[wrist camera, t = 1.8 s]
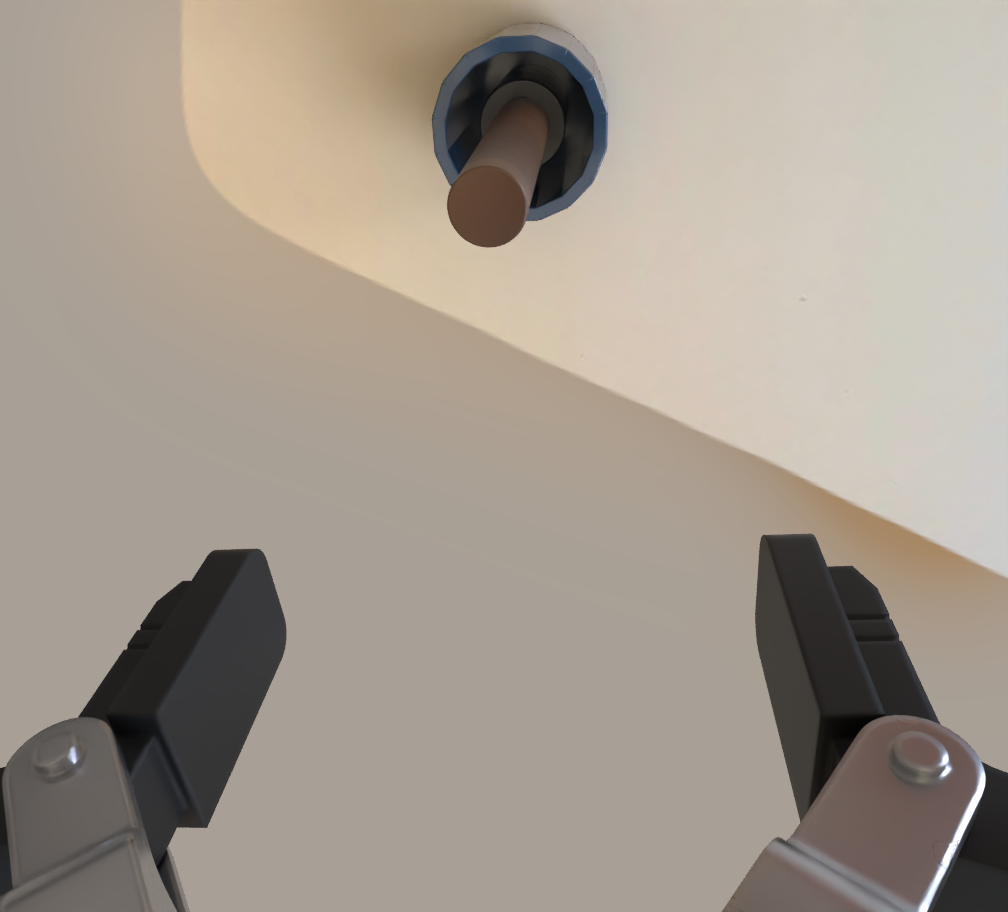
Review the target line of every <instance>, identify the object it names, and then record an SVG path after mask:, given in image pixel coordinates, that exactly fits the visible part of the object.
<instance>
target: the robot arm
mask: <svg viewBox="0 0 1008 912" xmlns="http://www.w3.org/2000/svg"><path fill="white" fill-rule="evenodd" d="M755 623H756V637H757V645H758V651H759V655H760V659H761V663H762V667H763V671H764V675H765V680H766V683H767V688H768V691H769V696H770V700H771V704H772V708H773V712H774V716H775V720H776V724H777V728H778V732H779V736H780V740H781V744H782V749H783V752H784V757H785V761H786V765H787V769H788V773H789V776H790V781H791V785H792V789H793V793H794V797H795V801H796V806H797V810H798V814H799V818H800V824H799V826H798V827H797V829H796V830H795V832H794V833H793V835H792V836H791V837H790V838H789V839H788V840H787V841H785V840H783V839H782V838H779V837H777V838H775V839H774V840H772V841H771V842H770V843H769V844H768V845H767V846H766V847H765V849H764V850H763V851H762V853H761V854H760V855H759V857H758V859H757V860H756V861H755V863H754V864H753V866H752V867H751V869H750V870H749V872H748V873H747V875H746V876H745V878H744V879H743V881H742V882H741V884H740V885H739V887H738V888H737V890H736V891H735V893H734V894H733V896H732V897H731V899H730V900H729V902H728V903H727V905H726V906H725V908H724V909H723V911H722V912H1008V773H1006V772H1003V771H1001V770H998V769H996V768H993V767H991V766H989V765H987V764H985V763H983V762H981V761H980V758H979V757H978V755H977V754H976V752H975V751H974V750H973V749H972V748H971V746H970V745H969V744H968V743H967V742H966V741H965V740H963V739H962V738H961V737H960V736H959V735H957V734H956V733H954V732H953V731H951V730H950V729H948V728H946V727H944V726H942V725H941V724H940V723H939V721H938V719H937V717H936V715H935V712H934V710H933V708H932V706H931V704H930V702H929V700H928V697H927V695H926V693H925V691H924V689H923V686H922V684H921V682H920V680H919V678H918V676H917V673H916V671H915V669H914V667H913V665H912V662H911V660H910V658H909V656H908V654H907V652H906V650H905V647H904V645H903V643H902V641H899V634H898V632H897V630H896V628H895V626H894V624H893V621H892V620H891V619H890V618H889V613H888V610H887V608H886V607H885V604H884V602H883V600H882V597H881V595H880V593H879V591H878V589H877V588H876V587H875V586H874V585H873V584H872V583H871V582H870V581H868V580H867V579H866V578H865V577H864V576H863V575H862V574H860V573H859V572H858V571H857V570H856V569H855V568H854V567H853V566H835V567H827V565H826V563H825V560H824V557H823V555H822V553H821V550H820V547H819V545H818V542H817V540H816V538H815V536H814V535H813V534H788V535H786V534H785V535H763V536H762V537H761V542H760V550H759V565H758V581H757V597H756V612H755ZM285 645H286V623H285V618H284V615H283V611H282V608H281V605H280V602H279V598H278V595H277V592H276V589H275V585H274V582H273V579H272V576H271V573H270V569H269V566H268V563H267V560H266V557H265V555H264V553H263V552H262V551H261V550H260V549H233V550H214V551H212V552H211V553H210V554H209V555H208V556H207V558H206V559H205V561H204V563H203V564H202V565H201V567H200V568H199V570H198V572H197V573H196V575H195V576H194V578H193V579H192V581H182V582H181V583H180V584H178V585H177V586H176V587H174V588H173V589H172V590H171V591H169V592H168V593H167V594H166V595H165V596H163V597H162V598H161V599H160V600H158V601H157V602H156V604H155V605H154V606H153V608H152V609H151V611H150V612H149V614H148V615H147V617H146V618H145V620H144V621H143V623H142V624H141V629H140V630H137V631H136V633H135V634H134V636H133V637H132V639H131V640H130V642H129V643H128V648H127V650H123V652H122V654H121V655H120V656H119V658H118V660H117V661H116V662H115V664H114V665H113V667H112V668H111V670H110V671H109V673H108V674H107V675H106V677H105V678H104V680H103V681H102V683H101V684H100V686H99V687H98V689H97V690H96V692H95V693H94V695H93V697H92V698H91V699H90V701H89V702H88V704H87V705H86V707H85V708H84V709H83V711H82V712H81V714H80V715H79V717H78V718H73V719H69V720H65V721H62V722H59V723H57V724H54V725H52V726H50V727H48V728H46V729H44V730H42V731H41V732H39V733H37V734H36V735H34V736H33V737H32V738H30V739H29V740H28V741H26V742H25V743H24V744H23V745H22V746H21V747H20V748H19V749H18V750H17V751H16V752H15V753H14V755H13V756H12V757H11V759H10V760H9V762H8V763H7V766H6V767H3V768H0V912H190V911H189V908H188V904H187V901H186V898H185V894H184V891H183V888H182V885H181V881H180V878H179V875H178V871H177V868H176V865H175V861H174V859H173V856H172V853H171V851H170V850H169V847H168V845H169V843H170V841H171V839H172V837H173V834H174V832H175V830H176V828H177V827H189V828H207V826H208V824H209V822H210V819H211V817H212V815H213V813H214V811H215V808H216V806H217V804H218V802H219V799H220V797H221V795H222V793H223V790H224V788H225V786H226V783H227V781H228V779H229V777H230V775H231V772H232V770H233V768H234V766H235V763H236V761H237V759H238V757H239V754H240V752H241V749H242V747H243V745H244V743H245V741H246V739H247V736H248V734H249V731H250V729H251V727H252V725H253V722H254V720H255V718H256V716H257V714H258V711H259V709H260V707H261V705H262V702H263V700H264V698H265V696H266V693H267V691H268V689H269V686H270V684H271V682H272V680H273V678H274V675H275V673H276V671H277V669H278V666H279V664H280V662H281V660H282V657H283V654H284V650H285Z"/></svg>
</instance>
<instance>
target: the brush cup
mask: <svg viewBox="0 0 1008 912" xmlns="http://www.w3.org/2000/svg"><path fill="white" fill-rule="evenodd" d="M526 65H536V66H541V67H544V68H546V69H548V70H550V71H551V72H553V73H554V74H555V75H556V76H557V77H558V78H559V79H560V80H561V82H562V83H563V85H564V87H565V89H566V92H567V95H568V100H569V112H568V118H567V124H566V130H565V136H564V139H563V143H562V145H561V147H560V149H559V150H558V152H557V153H556V155H555V156H554V157H553V158H552V159H551V160H550V161H549V162H547V163H546V164H545V165H543V166H541V167H540V168H539V172H538V176H537V180H536V184H535V188H534V192H533V195H532V199H531V203H530V207H529V211H528V215H527V218H526V221H538V220H542V219H544V218H546V217H548V216H551V215H553V214H555V213H557V212H560V211H562V210H564V209H566V208H568V207H569V206H571V205H572V204H573V203H574V202H575V201H576V200H577V199H578V198H579V197H580V196H581V195H582V194H583V193H584V192H585V190H586V189H587V188H588V187H589V186H590V185H591V184H592V183H593V181H594V180H595V177H596V175H597V172H598V170H599V167H600V165H601V163H602V160H603V158H604V155H605V153H606V148H607V127H608V111H607V102H606V93H605V86H604V84H603V81H602V78H601V75H600V72H599V70H598V67H597V65H596V62H595V60H594V59H593V57H592V56H591V55H590V53H589V52H588V51H587V50H586V48H585V47H584V46H583V45H582V44H581V43H580V42H579V41H578V40H577V39H575V37H574V36H572V35H571V34H568V33H567V32H565V31H563V30H561V29H559V28H556V27H553V26H550V25H547V24H543V23H539V24H538V23H527V24H518V25H512V26H510V27H508V28H506V29H504V30H502V31H500V32H498V33H496V34H495V35H493V36H491V37H489V38H487V39H486V40H484V41H483V42H481V43H480V44H478V45H477V46H475V47H474V48H473V49H471V50H470V51H468V52H467V53H466V54H464V56H463V57H462V58H461V59H460V61H459V62H458V63H457V64H456V66H455V67H454V68H453V69H452V71H451V72H450V73H449V74H448V76H447V77H446V78H445V79H444V80H443V83H442V84H441V88H440V91H439V95H438V98H437V101H436V105H435V108H434V112H433V115H432V128H433V139H434V151H435V155H436V158H437V160H438V162H439V164H440V166H441V168H442V170H443V172H444V174H445V176H446V178H447V181H448V183H449V185H451V187H452V185H453V183H454V181H455V180H456V178H457V177H458V175H459V174H460V172H461V170H462V169H463V167H464V166H465V164H466V163H467V161H468V159H469V158H470V156H471V155H472V153H473V152H474V150H475V148H476V147H477V145H478V144H479V142H480V141H481V139H482V138H481V134H480V115H481V111H482V108H483V106H484V104H485V102H486V100H487V98H488V97H489V96H490V94H491V93H492V92H493V90H494V89H495V88H496V87H497V85H498V84H499V83H500V81H501V80H502V79H503V78H504V77H505V76H506V75H507V74H508V73H509V72H511V71H512V70H514V69H516V68H518V67H522V66H526Z"/></svg>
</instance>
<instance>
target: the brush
mask: <svg viewBox="0 0 1008 912" xmlns="http://www.w3.org/2000/svg"><path fill="white" fill-rule="evenodd" d="M568 112H569V100H568V95H567V92H566V89H565V87H564V85H563V83H562V82H561V80H560V79H559V78H558V77H557V76H556V75H555V74H554V73H553V72H551V71H550V70H548V69H546V68H544V67H541V66H536V65H526V66H522V67H518V68H516V69H514V70H512V71H511V72H509V73H508V74H507V75H506V76H505V77H504V78H503V79H502V80H501V81H500V83H499V84H498V85H497V87H496V88H495V89H494V90H493V92H492V93H491V94H490V96H489V97H488V98H487V100H486V102H485V104H484V106H483V108H482V111H481V115H480V134H481V138H482V139H481V141H480V142H479V144H478V145H477V147H476V148H475V150H474V152H473V153H472V155H471V156H470V158H469V159H468V161H467V163H466V164H465V166H464V167H463V169H462V170H461V172H460V174H459V175H458V177H457V178H456V180H455V181H454V183H453V185H452V187H451V189H450V192H449V195H448V201H447V209H448V215H449V219H450V221H451V223H452V225H453V227H454V229H455V230H456V231H457V233H458V234H459V235H460V236H461V237H462V238H464V239H465V240H466V241H468V242H470V243H472V244H474V245H477V246H481V247H497V246H501V245H504V244H506V243H508V242H510V241H511V240H512V239H514V238H515V237H516V236H517V235H518V234H519V232H520V231H521V230H522V228H523V226H524V224H525V222H526V218H527V215H528V211H529V207H530V203H531V199H532V195H533V192H534V188H535V184H536V180H537V176H538V172H539V168H540V167H541V166H543V165H545V164H546V163H547V162H549V161H550V160H551V159H552V158H553V157H554V156H555V155H556V153H557V152H558V150H559V149H560V147H561V145H562V143H563V139H564V136H565V130H566V124H567V118H568Z"/></svg>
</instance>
